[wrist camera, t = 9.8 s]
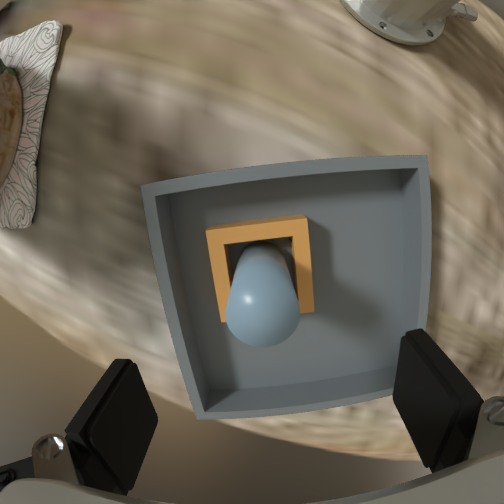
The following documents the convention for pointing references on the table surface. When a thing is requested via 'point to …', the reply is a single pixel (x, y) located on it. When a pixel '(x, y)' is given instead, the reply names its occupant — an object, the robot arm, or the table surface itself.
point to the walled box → (323, 277)
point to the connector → (262, 297)
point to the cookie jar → (23, 116)
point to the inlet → (258, 231)
